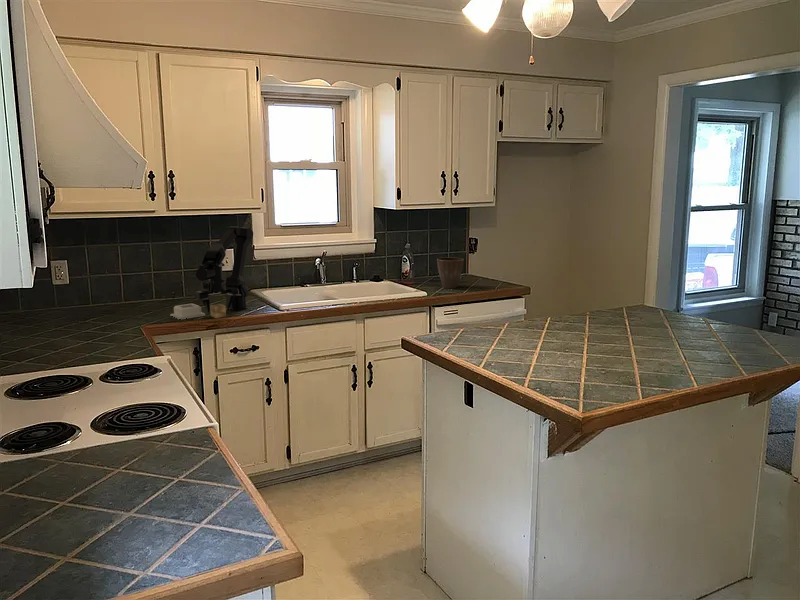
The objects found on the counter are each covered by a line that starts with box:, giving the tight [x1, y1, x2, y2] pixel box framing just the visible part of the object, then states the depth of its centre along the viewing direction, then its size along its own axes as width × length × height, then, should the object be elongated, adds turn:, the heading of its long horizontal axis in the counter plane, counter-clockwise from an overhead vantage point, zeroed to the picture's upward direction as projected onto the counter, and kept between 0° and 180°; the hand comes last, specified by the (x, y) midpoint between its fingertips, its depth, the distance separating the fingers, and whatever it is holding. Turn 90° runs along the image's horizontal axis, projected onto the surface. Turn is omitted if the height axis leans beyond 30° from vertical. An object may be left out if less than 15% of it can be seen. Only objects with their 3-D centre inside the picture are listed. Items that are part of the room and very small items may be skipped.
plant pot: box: [436, 256, 465, 289], centre depth 354 cm, size 15×15×16 cm
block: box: [210, 303, 227, 319], centre depth 288 cm, size 5×5×5 cm
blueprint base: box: [170, 303, 206, 320], centre depth 289 cm, size 12×10×5 cm
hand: (218, 311), depth 288 cm, fingers open, 9 cm apart
